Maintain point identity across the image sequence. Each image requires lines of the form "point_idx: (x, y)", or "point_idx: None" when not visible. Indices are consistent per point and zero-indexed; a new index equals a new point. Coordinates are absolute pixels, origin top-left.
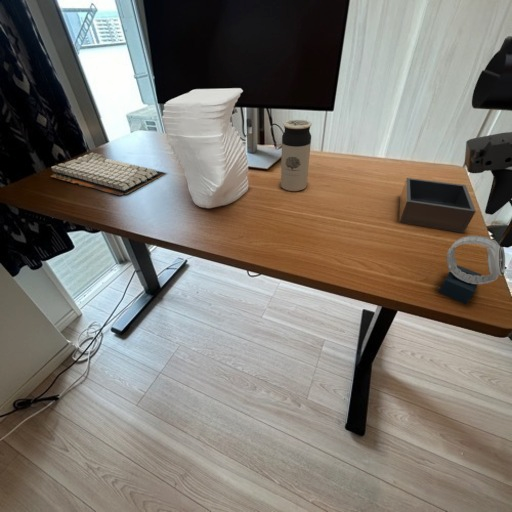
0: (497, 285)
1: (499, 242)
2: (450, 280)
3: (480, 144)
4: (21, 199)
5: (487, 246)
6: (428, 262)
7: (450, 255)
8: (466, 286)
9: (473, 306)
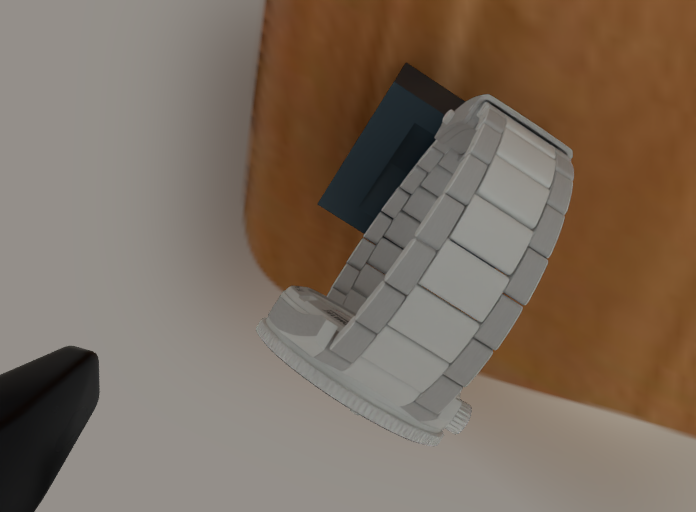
0: None
1: (78, 359)
2: (395, 111)
3: None
4: None
5: (341, 331)
6: (687, 91)
7: (468, 115)
8: (354, 181)
9: None
